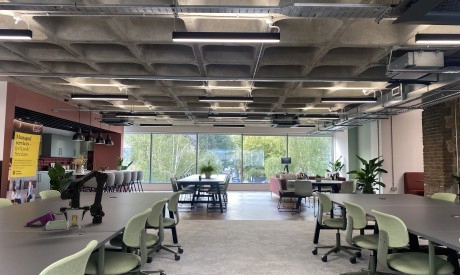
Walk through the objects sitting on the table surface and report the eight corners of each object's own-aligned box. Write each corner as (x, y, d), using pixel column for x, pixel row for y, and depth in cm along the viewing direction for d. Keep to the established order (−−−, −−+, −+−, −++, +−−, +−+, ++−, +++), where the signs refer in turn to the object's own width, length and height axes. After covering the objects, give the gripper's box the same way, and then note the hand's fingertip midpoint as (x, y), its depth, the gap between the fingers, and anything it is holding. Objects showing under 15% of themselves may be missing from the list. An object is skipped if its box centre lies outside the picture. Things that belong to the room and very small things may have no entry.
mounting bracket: (29, 234, 234) (54, 223, 239) (24, 224, 234) (49, 212, 239) (33, 232, 243) (57, 220, 248) (28, 222, 243) (52, 211, 248)
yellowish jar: (77, 227, 225) (77, 214, 226) (76, 228, 222) (77, 215, 222) (71, 227, 224) (72, 214, 224) (71, 229, 220) (71, 215, 221)
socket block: (80, 228, 228) (80, 224, 228) (80, 231, 220) (80, 226, 221) (68, 229, 225) (68, 225, 225) (67, 232, 217) (67, 227, 218)
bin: (68, 227, 234) (68, 220, 234) (67, 230, 222) (67, 223, 222) (48, 228, 229) (48, 221, 229) (45, 232, 217) (45, 224, 217)
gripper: (90, 196, 235) (89, 218, 234) (61, 197, 228) (60, 220, 227) (89, 198, 225) (89, 221, 224) (60, 199, 218) (59, 222, 217)
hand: (74, 221), depth 223 cm, fingers open, 9 cm apart
